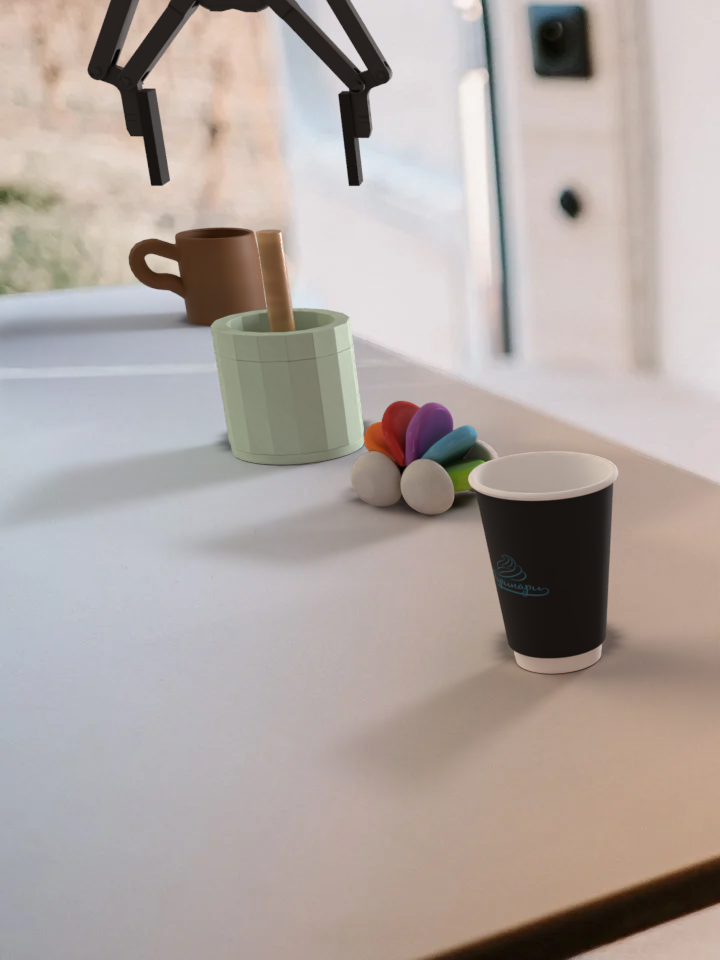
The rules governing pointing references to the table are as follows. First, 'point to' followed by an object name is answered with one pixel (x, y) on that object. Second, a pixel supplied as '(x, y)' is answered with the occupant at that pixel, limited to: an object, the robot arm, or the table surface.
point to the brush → (275, 280)
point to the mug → (207, 271)
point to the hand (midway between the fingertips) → (259, 184)
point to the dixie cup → (549, 553)
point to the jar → (289, 387)
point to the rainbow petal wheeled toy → (417, 458)
